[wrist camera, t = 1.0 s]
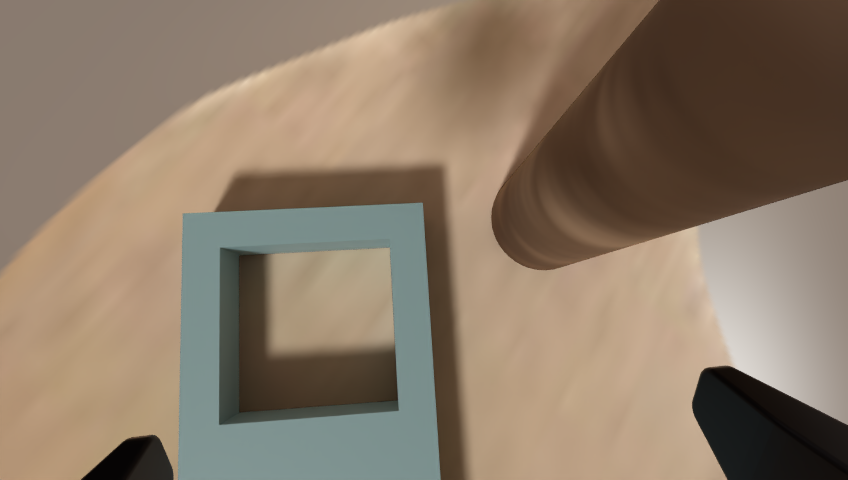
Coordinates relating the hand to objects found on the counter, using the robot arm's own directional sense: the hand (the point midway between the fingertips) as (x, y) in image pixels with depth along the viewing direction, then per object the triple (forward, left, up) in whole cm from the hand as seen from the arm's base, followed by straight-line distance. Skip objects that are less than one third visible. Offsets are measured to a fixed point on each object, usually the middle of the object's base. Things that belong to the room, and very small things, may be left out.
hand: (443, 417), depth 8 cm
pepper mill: (+6, -7, -14) cm, 17 cm away
